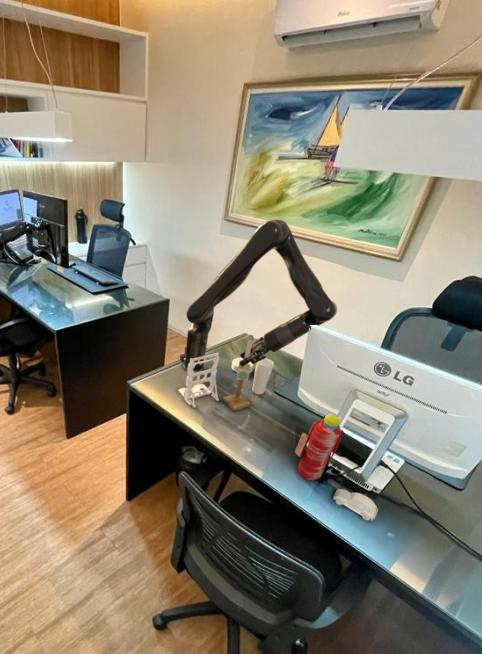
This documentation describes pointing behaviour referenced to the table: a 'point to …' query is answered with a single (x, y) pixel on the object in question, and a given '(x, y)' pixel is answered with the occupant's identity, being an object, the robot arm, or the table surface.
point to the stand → (236, 398)
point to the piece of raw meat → (318, 447)
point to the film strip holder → (196, 390)
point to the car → (357, 503)
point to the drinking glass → (262, 375)
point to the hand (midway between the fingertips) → (240, 360)
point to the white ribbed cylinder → (236, 364)
